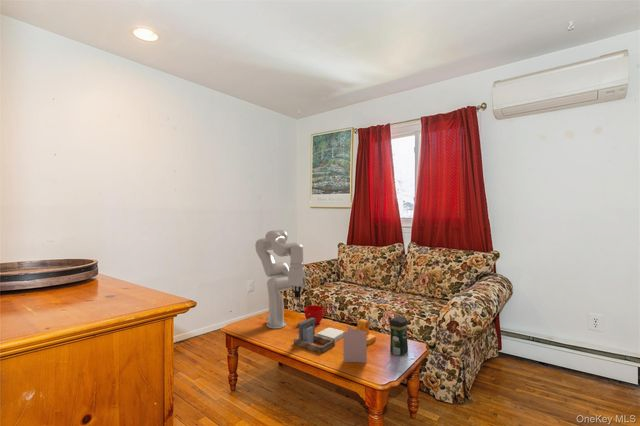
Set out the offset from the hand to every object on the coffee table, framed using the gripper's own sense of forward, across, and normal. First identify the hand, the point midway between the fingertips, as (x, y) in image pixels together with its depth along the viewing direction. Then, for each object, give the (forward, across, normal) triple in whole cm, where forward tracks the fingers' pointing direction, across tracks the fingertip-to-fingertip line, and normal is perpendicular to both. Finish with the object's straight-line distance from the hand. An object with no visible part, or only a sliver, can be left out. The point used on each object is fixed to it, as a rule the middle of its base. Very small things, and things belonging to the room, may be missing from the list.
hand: (297, 297), depth 186 cm
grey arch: (+22, +7, 0) cm, 23 cm away
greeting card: (+25, +40, -3) cm, 47 cm away
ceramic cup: (+25, -9, +25) cm, 37 cm away
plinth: (+25, +13, +15) cm, 32 cm away
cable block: (+25, +7, 0) cm, 26 cm away
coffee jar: (+25, +54, +19) cm, 62 cm away
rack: (+25, +12, 0) cm, 28 cm away
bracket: (+25, +33, +21) cm, 46 cm away
